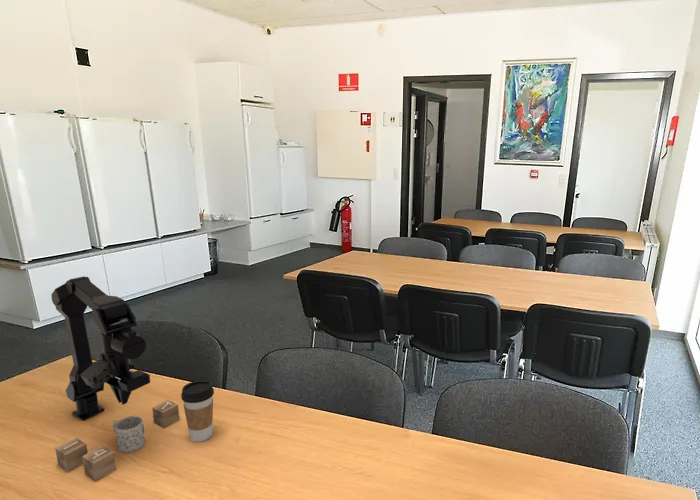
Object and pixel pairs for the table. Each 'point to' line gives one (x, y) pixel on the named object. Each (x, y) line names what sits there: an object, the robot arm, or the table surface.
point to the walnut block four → (99, 463)
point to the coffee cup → (198, 409)
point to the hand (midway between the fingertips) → (122, 402)
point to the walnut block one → (71, 454)
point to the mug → (129, 434)
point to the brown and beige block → (165, 413)
